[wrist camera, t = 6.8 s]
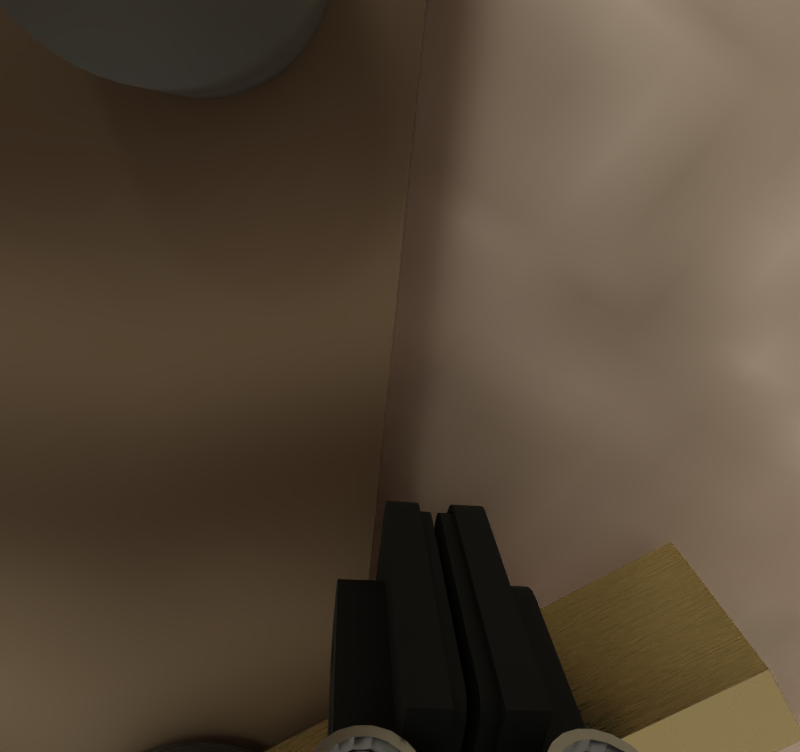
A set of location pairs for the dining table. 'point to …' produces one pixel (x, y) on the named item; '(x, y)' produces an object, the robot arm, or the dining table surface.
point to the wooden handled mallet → (646, 667)
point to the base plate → (192, 356)
